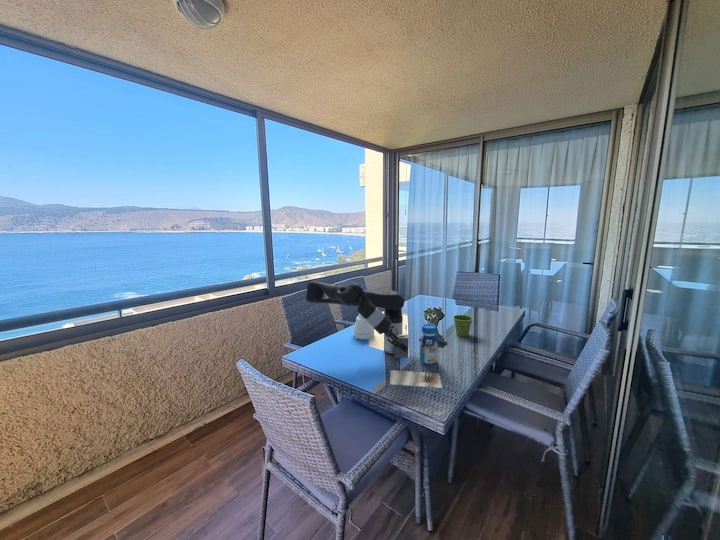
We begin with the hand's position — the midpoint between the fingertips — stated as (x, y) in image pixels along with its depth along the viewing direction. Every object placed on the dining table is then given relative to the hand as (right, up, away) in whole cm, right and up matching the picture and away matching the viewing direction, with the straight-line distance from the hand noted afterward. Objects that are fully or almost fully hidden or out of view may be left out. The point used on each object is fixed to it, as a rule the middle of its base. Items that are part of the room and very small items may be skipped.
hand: (406, 348), depth 126 cm
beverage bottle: (+14, -13, +18) cm, 26 cm away
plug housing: (-2, -4, +1) cm, 4 cm away
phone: (+23, -9, +45) cm, 51 cm away
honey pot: (-18, -7, +55) cm, 59 cm away
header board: (+4, -15, +2) cm, 16 cm away
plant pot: (+44, -7, +55) cm, 71 cm away
